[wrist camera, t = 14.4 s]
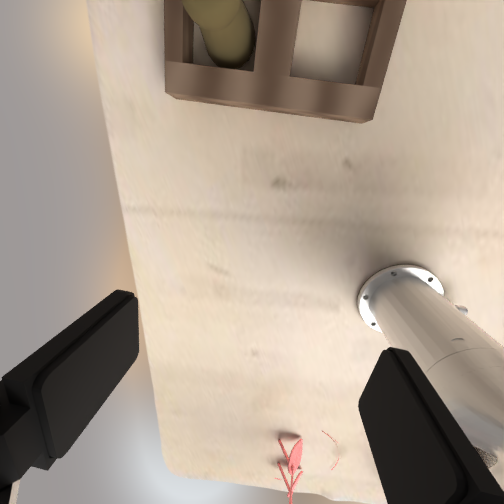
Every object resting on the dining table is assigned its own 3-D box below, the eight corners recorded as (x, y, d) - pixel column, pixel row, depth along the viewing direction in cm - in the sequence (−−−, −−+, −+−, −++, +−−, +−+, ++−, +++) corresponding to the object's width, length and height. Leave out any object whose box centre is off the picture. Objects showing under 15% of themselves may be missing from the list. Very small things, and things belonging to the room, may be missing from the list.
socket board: (418, -84, 23) (444, -128, 20) (362, 123, 30) (373, 119, 26) (177, -109, 24) (160, -155, 20) (176, 98, 31) (164, 91, 27)
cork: (195, 26, 28) (149, -49, 18) (239, -8, 26) (218, -112, 16) (220, 80, 30) (192, 40, 19) (264, 51, 28) (258, -9, 18)
